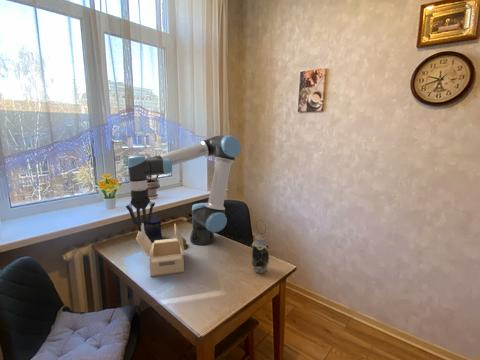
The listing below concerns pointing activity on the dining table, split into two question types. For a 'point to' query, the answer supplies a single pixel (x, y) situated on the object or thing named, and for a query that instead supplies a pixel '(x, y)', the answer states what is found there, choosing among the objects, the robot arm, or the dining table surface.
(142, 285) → the dining table surface
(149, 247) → the flap
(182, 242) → the flap
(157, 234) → the dark blue barrel
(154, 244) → the carton
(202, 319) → the dining table surface
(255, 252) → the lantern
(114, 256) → the dining table surface
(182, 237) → the seashell
